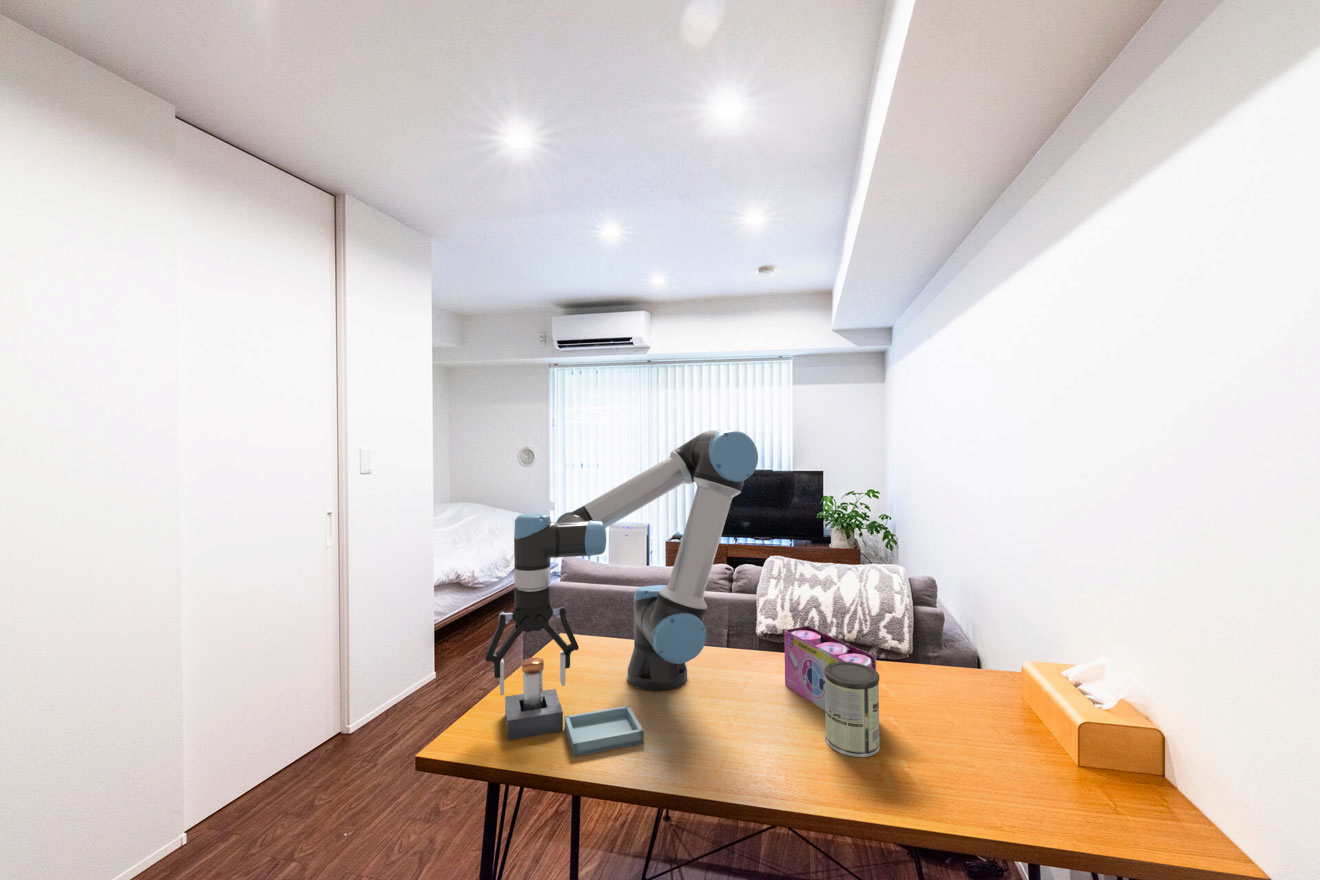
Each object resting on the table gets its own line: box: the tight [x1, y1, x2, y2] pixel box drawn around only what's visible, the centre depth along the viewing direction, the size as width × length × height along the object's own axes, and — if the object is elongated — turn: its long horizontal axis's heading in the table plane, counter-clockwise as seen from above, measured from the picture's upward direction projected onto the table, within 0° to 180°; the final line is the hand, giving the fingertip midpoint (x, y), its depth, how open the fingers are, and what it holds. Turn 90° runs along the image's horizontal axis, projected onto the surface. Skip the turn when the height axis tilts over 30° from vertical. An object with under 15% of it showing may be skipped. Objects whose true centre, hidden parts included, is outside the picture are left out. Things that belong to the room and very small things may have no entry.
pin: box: [521, 657, 545, 711], centre depth 117 cm, size 5×5×13 cm
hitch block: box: [504, 688, 564, 741], centre depth 116 cm, size 11×11×4 cm
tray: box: [564, 705, 645, 757], centre depth 111 cm, size 14×11×2 cm
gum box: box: [783, 625, 877, 712], centre depth 125 cm, size 24×8×14 cm, turn 24°
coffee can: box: [824, 662, 881, 758], centre depth 108 cm, size 10×10×14 cm
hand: (532, 687), depth 116 cm, fingers open, 12 cm apart
